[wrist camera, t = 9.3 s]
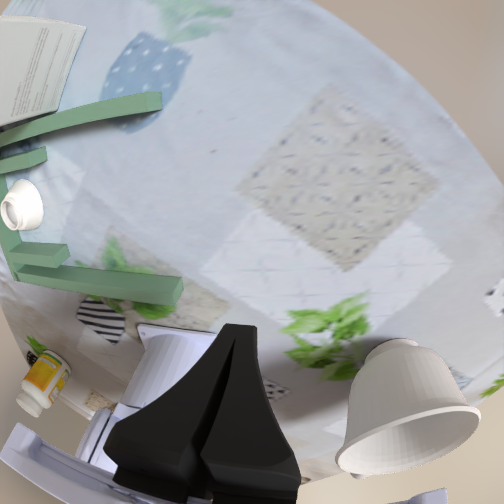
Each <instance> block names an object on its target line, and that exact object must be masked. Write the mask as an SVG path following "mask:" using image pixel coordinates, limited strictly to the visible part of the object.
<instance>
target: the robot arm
mask: <svg viewBox="0 0 504 504" xmlns="http://www.w3.org/2000/svg"><path fill="white" fill-rule="evenodd" d="M137 329H138V332H139V335H140V338H141V341H142V343H143V346H144V349H145V352H144V354H143V356H142V358H141V360H140V362H139V364H138V366H137V368H136V370H135V372H134V374H133V376H132V378H131V380H130V382H129V384H128V386H127V388H126V390H125V392H124V394H123V396H122V398H121V400H120V402H119V403H117V405H116V407H115V410H114V412H113V414H111V411H112V410H110V409H108V408H104V409H101V410H97V411H96V413H95V414H94V416H93V418H92V420H91V421H90V423H89V425H88V427H87V429H86V431H85V433H84V435H83V437H82V440H81V442H80V444H79V447H78V449H77V452H76V454H75V457H74V456H72V455H70V454H68V453H66V452H64V451H62V450H60V449H58V448H56V447H54V446H52V445H51V444H49V443H47V442H45V441H43V440H42V438H41V437H40V436H39V435H37V434H36V433H35V432H34V431H32V430H31V429H29V428H27V427H26V426H24V425H23V424H21V423H19V422H18V423H17V424H16V426H15V428H14V429H13V431H12V433H11V435H10V436H9V438H8V440H7V442H6V444H5V445H4V447H3V449H2V451H1V453H0V459H1V460H2V461H4V462H5V463H6V464H8V465H9V466H10V467H12V468H13V469H14V470H16V471H17V472H18V473H20V474H21V475H22V476H24V477H25V478H27V479H28V480H30V481H31V482H33V483H34V484H36V485H37V486H38V487H40V488H42V489H43V490H45V491H46V492H48V493H49V494H51V495H53V496H54V497H56V498H58V499H60V500H61V501H63V502H65V503H67V504H296V500H297V493H298V488H299V486H300V484H301V474H300V470H299V467H298V464H297V461H296V458H295V455H294V452H293V450H292V449H291V447H290V445H289V444H288V442H287V440H286V438H285V436H284V434H283V433H282V431H281V429H280V427H279V424H278V422H277V420H276V418H275V415H274V413H273V411H272V408H271V406H270V403H269V400H268V398H267V395H266V392H265V388H264V385H263V382H262V378H261V374H260V369H259V364H258V358H257V327H255V326H251V325H239V324H227V323H226V324H225V325H224V326H223V328H222V329H221V331H220V332H219V334H218V335H216V334H214V333H205V332H197V331H189V330H181V329H174V328H167V327H160V326H153V325H147V324H139V325H138V327H137ZM212 499H213V500H212ZM211 500H212V501H211ZM389 504H448V498H447V490H446V488H441V489H437V490H434V491H430V492H425V493H422V494H418V495H416V496H414V497H412V498H411V499H410V500H406V501H401V502H395V503H389Z"/></svg>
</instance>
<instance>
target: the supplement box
mask: <svg viewBox="0 0 504 504" xmlns="http://www.w3.org/2000/svg"><path fill="white" fill-rule="evenodd" d="M85 31H86V27H84V26H81V25H76V24H72V23H68V22H64V21H59V20H54V19H48V18H41V17H30V16H0V126H3V125H6V124H9V123H13V122H16V121H19V120H23V119H27V118H30V117H34V116H37V115H41V114H45V113H49V112H53V111H57V109H58V106H59V102H60V99H61V95H62V92H63V89H64V86H65V83H66V80H67V77H68V74H69V71H70V68H71V65H72V62H73V60H74V57H75V55H76V52H77V50H78V47H79V45H80V42H81V40H82V37H83V35H84V33H85Z"/></svg>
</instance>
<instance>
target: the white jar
mask: <svg viewBox="0 0 504 504" xmlns="http://www.w3.org/2000/svg"><path fill="white" fill-rule="evenodd" d="M0 211H1V216H2V219H3V221H4V223H5V224H6V226H7V227H8V228H9V229H11V230H17V229H18V230H33V229H36V228H38V227H39V225H40V224H41V223H42V220H43V216H44V210H43V203H42V200H41V197H40V194H39V192H38V191H37V189H36V187H35V186H34V185H33V184H32V183H31V182H30V181H29V180H25V179H20V180H18V181H16V182H14V184H13V185H12V187H11V188H10V190H9V191H8V193H7V194H6V196H5V198H4V200H3V201H2V203H1V207H0Z"/></svg>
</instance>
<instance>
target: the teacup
mask: <svg viewBox="0 0 504 504" xmlns="http://www.w3.org/2000/svg"><path fill="white" fill-rule="evenodd" d="M480 419H481V413H480V411H479V410H478V409H476V408H474V407H470V406H469V405H468V404H467V402H466V400H465V399H464V397H463V395H462V393H461V392H460V390H459V388H458V386H457V384H456V382H455V380H454V378H453V376H452V374H451V372H450V371H449V369H448V367H447V366H446V364H445V363H444V361H443V360H442V359H441V358H440V357H439V356H438V354H436V353H435V352H433V351H432V350H430V349H427V348H424V347H420V346H418V344H417V343H416V342H414V341H413V340H410V339H402V338H401V339H393V340H389V341H387V342H384V343H382V344H380V345H379V346H377V347H376V348H374V349H373V350H372V351H371V352H370V353H369V354H368V355H367V357H366V359H365V363H364V366H363V367H362V368H361V369H360V370H359V371H358V373H357V374H356V376H355V378H354V380H353V382H352V385H351V389H350V394H349V402H348V417H347V429H346V436H345V442H344V445H343V447H342V448H341V449H340V450H339V451H338V452H337V454H336V456H335V462H336V464H337V465H338V466H339V467H340V468H342V469H343V470H345V471H347V472H350V474H351V475H352V476H353V477H354V478H356V479H364V478H367V477H368V476H370V475H378V474H388V473H395V472H399V471H404V470H408V469H412V468H415V467H418V466H421V465H424V464H426V463H429V462H431V461H433V460H436V459H438V458H440V457H442V456H444V455H445V454H447V453H449V452H451V451H453V450H454V449H455V448H457V447H459V446H460V445H461V444H462V443H464V442H465V441H466V440H467V439H468V438H469V437H470V436H471V435H472V434H473V433H474V431H475V430H476V428H477V426H478V424H479V422H480Z"/></svg>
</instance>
